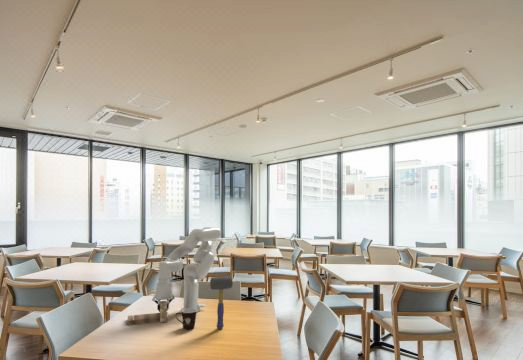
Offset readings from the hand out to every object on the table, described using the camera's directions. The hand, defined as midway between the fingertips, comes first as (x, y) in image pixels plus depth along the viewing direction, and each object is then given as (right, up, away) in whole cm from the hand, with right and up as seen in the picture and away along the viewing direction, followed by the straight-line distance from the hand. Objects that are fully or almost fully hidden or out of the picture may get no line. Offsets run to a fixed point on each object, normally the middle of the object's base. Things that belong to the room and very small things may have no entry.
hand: (162, 310), depth 207 cm
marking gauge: (0, -5, -2) cm, 5 cm away
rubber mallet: (+38, -5, -16) cm, 42 cm away
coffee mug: (+19, -4, -16) cm, 25 cm away
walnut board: (-8, -5, -4) cm, 10 cm away
